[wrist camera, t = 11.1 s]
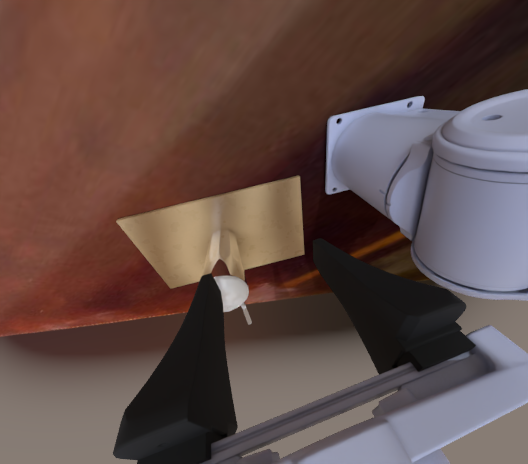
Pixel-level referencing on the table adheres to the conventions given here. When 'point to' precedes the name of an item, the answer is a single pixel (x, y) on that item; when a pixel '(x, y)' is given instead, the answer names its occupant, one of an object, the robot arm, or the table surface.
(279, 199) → the desk mat
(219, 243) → the milkshake
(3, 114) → the table surface
